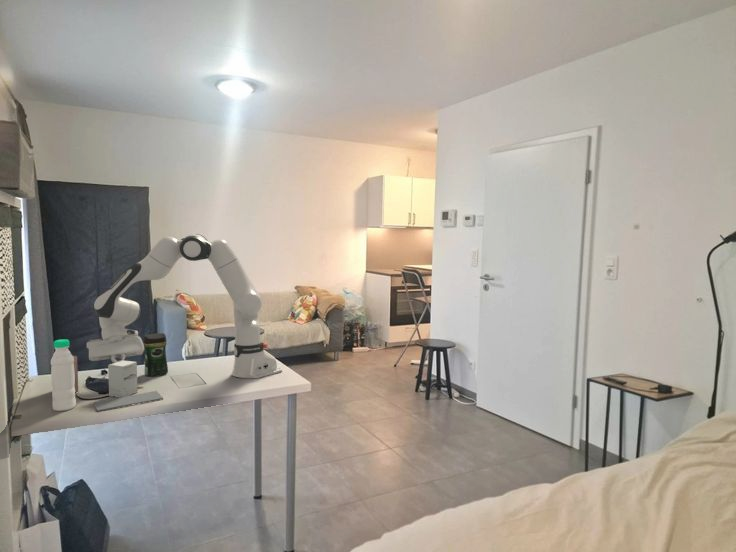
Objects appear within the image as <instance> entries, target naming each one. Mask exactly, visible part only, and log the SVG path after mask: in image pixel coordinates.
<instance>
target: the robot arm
mask: <svg viewBox="0 0 736 552" xmlns="http://www.w3.org/2000/svg"><path fill="white" fill-rule="evenodd" d="M181 258H184V259H186V260H188V261H192V262H196V261H202V260H208V261H209V262H210V264H211V265H212V268H213V269H214V271H215V272H216V274H217V276H218V277H219V279H220V281H221V284H222V285H223V286H224V287H225V290H226V291H227V293H228V295H229V296H230V298H231V299H232V301H233V303H232V304H233V318H234V344H233V345H234V348H233V354H234V355H233V356H234V361H233V362H234V363H233V368H232V372H231V376H233V377H236V378H242V379H244V378H245V379H247V378H248V379H259V378H264V377H267V376H271V375H275V374H278V373H282V372H283V369H282V367H281V366H279V365H278V364H277V363H278V362H277V359H276V358H275V356H274V355H272V354H271V353H269V352H268V351H266V350H265V349H267V348H268V347H269V344H267V343H265V342H262V341H261V324H260V315H259V314H260V313H259V311H260V310H261V308H262V306H263V305H262V304H263V301H262V297H261V295H260V294H259V292H258V290H257V289H256V287H255V285H254V283H253V282H252V280H251V278H250V277H249V275H248V274H247V272H246V270H245V269H244V267H243V264H242V263H241V261H240V259H239V258H238V256H237V254H236V252H235V251H234V250H233V248H232V247H231V245H230V244H229V243H228V242H227V241H226V240H225V239H221V238H220V239H216V240H212V241H208V239H207V238H206V236H204V235H201V234H199V233H193V234H192V233H191V234H188V235H187V236H185V237H183V238H181V239H177V238H175V237H173V236H168V235H167V236H164V237H162V238H161V239H160V240H159V241H158V242H157V243H156V244H155V245H154V246H153V247H152V249H150V251H149V252H148V253H147V255H146V256H145V257H144V258H143V259H141V260H140V261H138V262H134V263H132V264H131V265H130V266H128V267H127V268H126V269H125V270H124V271H123V273H121V274H120V276H119V277H117V278H116V280H115V281H114V282H113V283H112V284H111V285H110V286H109V287H108V288H107V289H105V291H104V292H102V293H101V294H99V295H98V297H96V299H95V301H94V302H93V310H94V313H95V314H96V315H97V317H98V318H99V319H98V320H99V327H100V328H101V338H98V339H90V340H89V341H87V342H86V349H87V350H88V360H90V361H91V362H97V361H102V360H103V361H105V360H111V362H112V364H113V363H116V362H120V361H125V359H126V357H133V356H141V355H143V354H144V352H145V347H144V344H143V343H144V341H143V340H142V338H141V336H139V331H138V330H134V329H129V328H126V326H129V325H131V324H133V323H134V322H136V321H137V320H138V319H139V318H140V316H141V310H142V309H141V305H140V304H139V303H138V301H137V302H136V301H134V300H132V299H129V298H125V297H122V295H123V294H124V293H125V292H126V291H127V290H128V289H129V288H130V287H131V286H132V285H133V284H135V283H137V282H141V281H157V280H162V279H163V278H165V277H166V276H167V275H168V274H169V273H170V272H171V270H172V269H173V267H174V266H175V265H176V263H177V261H179V260H180V259H181ZM119 358H120V359H121V360H117V359H119Z"/></svg>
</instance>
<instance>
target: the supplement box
mask: <svg viewBox="0 0 736 552" xmlns="http://www.w3.org/2000/svg"><path fill="white" fill-rule="evenodd" d="M119 361H120V360H119ZM137 363H138V362H137V361H130V360H124V361H120V362H116V363H113V362H112V363H110V364H108V365H107V370H108V396H109V397H113V396H115V397H114V398H119V397H125V396H130V395H135V394H138V364H137Z"/></svg>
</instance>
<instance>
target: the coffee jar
mask: <svg viewBox="0 0 736 552" xmlns="http://www.w3.org/2000/svg"><path fill="white" fill-rule="evenodd" d="M167 342H168V340H167V336H166V333H163V332H160V333H157V332H156V333H150V334H145V335H144V337H143V345H144V352H145V355H144V357H145V359H144V360H145V361H144V375H145V376H146V377H157V376H158V375H159V376H162V375H166V374H168V372H169V367H168V366H169V365H168V361H167V353H166V347H167ZM159 376H158V377H159Z"/></svg>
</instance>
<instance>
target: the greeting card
mask: <svg viewBox="0 0 736 552" xmlns="http://www.w3.org/2000/svg"><path fill="white" fill-rule="evenodd" d="M72 356H73V358H74V362H73V364H74V373H75V385H74V387H75V392H78V393H77V394H79V375H78V373H79V371H78V367H79V366H78V356H77V355H72Z"/></svg>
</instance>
